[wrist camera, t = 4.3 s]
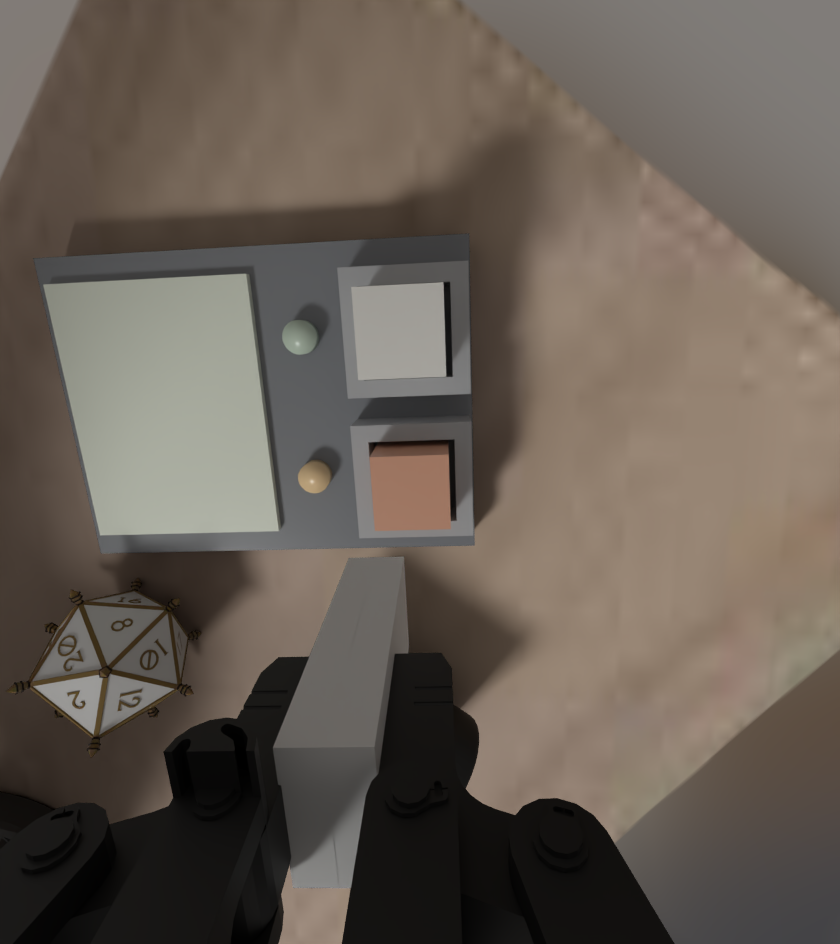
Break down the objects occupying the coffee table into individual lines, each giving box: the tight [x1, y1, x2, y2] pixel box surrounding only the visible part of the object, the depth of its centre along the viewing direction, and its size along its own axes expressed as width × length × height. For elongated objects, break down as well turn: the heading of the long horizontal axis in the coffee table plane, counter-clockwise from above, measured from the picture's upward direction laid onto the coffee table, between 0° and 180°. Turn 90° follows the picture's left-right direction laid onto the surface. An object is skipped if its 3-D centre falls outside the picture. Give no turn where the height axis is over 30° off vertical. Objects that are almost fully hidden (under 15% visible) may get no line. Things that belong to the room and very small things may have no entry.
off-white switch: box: [351, 282, 446, 380], centre depth 21 cm, size 4×4×4 cm
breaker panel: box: [33, 234, 475, 553], centre depth 26 cm, size 21×16×4 cm
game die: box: [6, 578, 201, 758], centre depth 28 cm, size 9×8×10 cm
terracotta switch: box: [369, 440, 451, 531], centre depth 25 cm, size 4×4×4 cm
